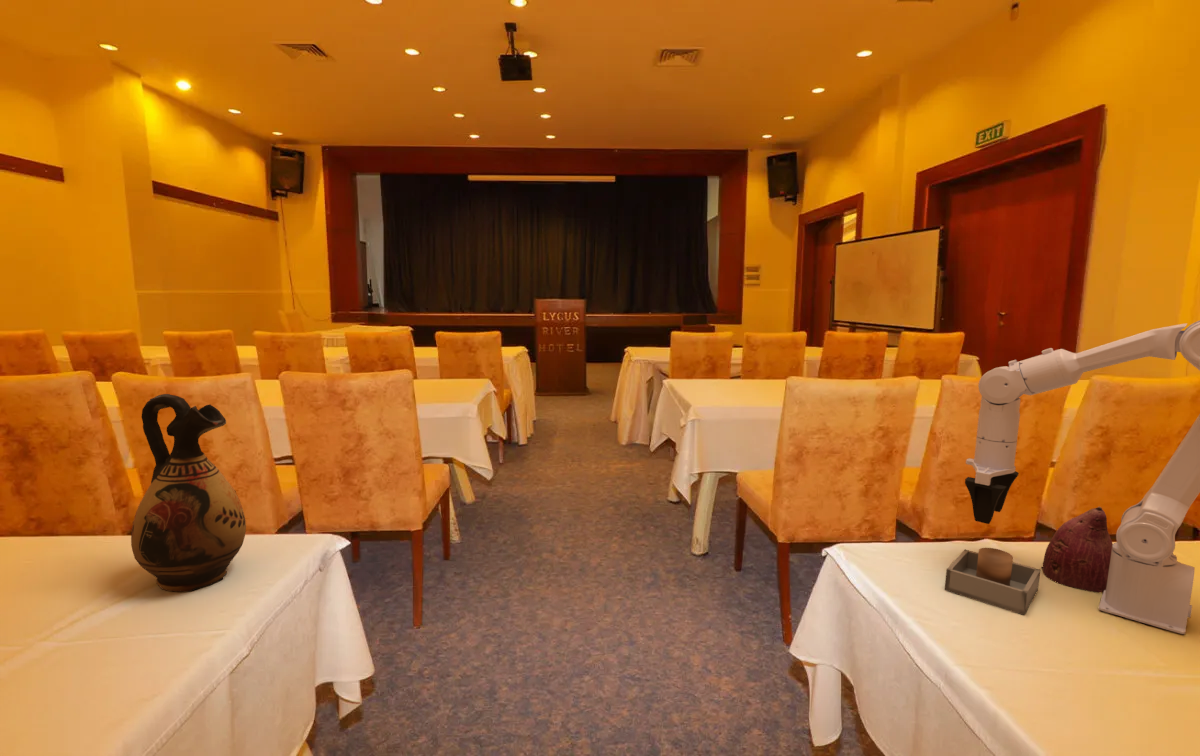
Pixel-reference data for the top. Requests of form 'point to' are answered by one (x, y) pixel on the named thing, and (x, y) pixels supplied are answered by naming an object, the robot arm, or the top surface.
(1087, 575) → the vegetable
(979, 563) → the walnut cylinder
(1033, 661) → the top surface
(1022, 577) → the grey bin
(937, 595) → the top surface
